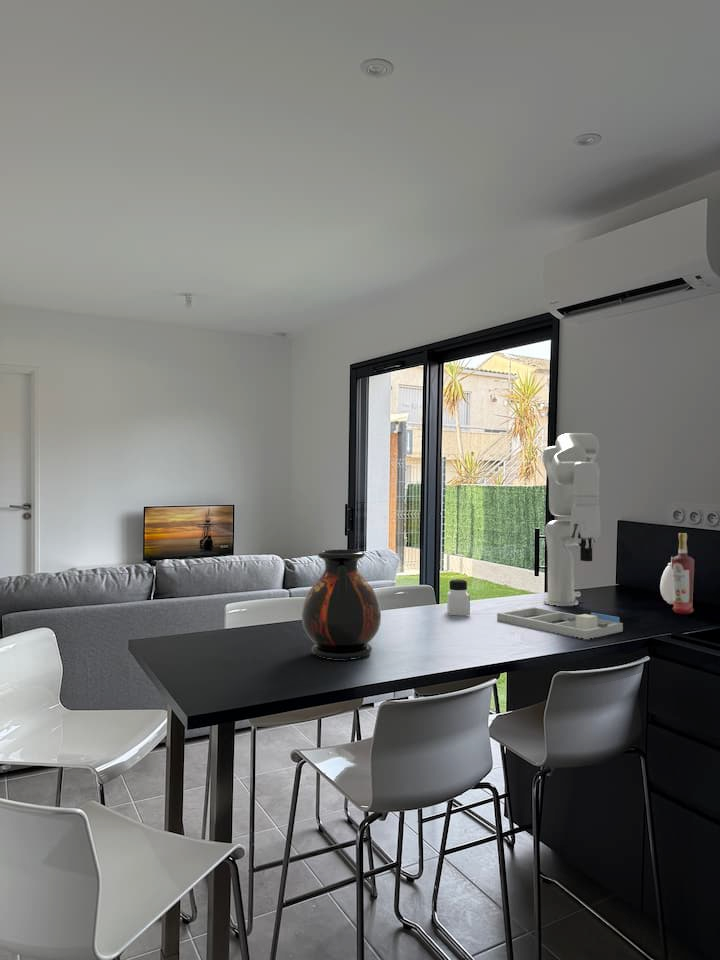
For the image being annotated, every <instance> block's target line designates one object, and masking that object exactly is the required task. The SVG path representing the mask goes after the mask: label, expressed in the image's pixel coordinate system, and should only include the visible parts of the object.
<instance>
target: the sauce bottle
mask: <svg viewBox="0 0 720 960" xmlns="http://www.w3.org/2000/svg"><path fill="white" fill-rule="evenodd" d="M672 558H673V555H672V556H671V558H670V562H668V563H667V566H666V567H665V569H664V570H663V573H662V575H661V577H660V584H659V589H660V595H661V597H662V599H663V601H666V603H667V604H669V605H674V599H673V579H672V561H671V559H672Z"/></svg>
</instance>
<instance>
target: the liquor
mask: <svg viewBox="0 0 720 960" xmlns="http://www.w3.org/2000/svg"><path fill="white" fill-rule="evenodd" d="M687 540H688V534H687V533H686V532H678V541H679V542H678V543H679V544H678V553H677V555H676V556H672V559H671V558H670V562H671V561H672V579H673V599H674V604H673V607H672V610H673V611H674V613H675V614H677V615H685V616H686V615H690V614H692V613H693V612H694V611H695V609H694V608H693V599H694V597H693V596H694V595H693V593H694V575H695V559H694V558H693V557H692V556H689V555H688V546H687Z"/></svg>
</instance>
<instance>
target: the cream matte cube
mask: <svg viewBox="0 0 720 960" xmlns="http://www.w3.org/2000/svg"><path fill="white" fill-rule="evenodd" d="M576 615H577V616H576V628H578V629H583V630H586V629H591V628H595V627H597V616H594V615H591V614H587V613H583V614H576Z"/></svg>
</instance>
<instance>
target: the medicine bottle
mask: <svg viewBox="0 0 720 960" xmlns="http://www.w3.org/2000/svg"><path fill="white" fill-rule="evenodd" d="M470 601H471V596H470V594H469V593H468V582H467V580H465V579H461V578H458V579H457V578H453V579H451V580H449V591H447V593H446V604H447V605H446V610H447V614H448V613H449V614H448V615H449V616H450V615H469V616H470V615H471V612H470V611H471V607H470V606H471V605H470V604H471V602H470Z"/></svg>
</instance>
